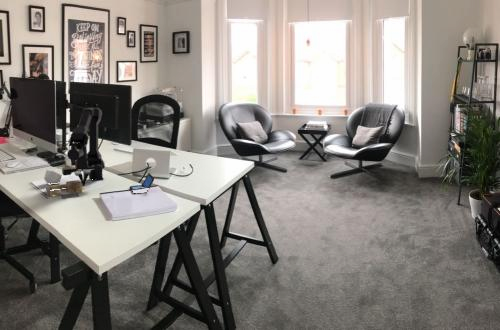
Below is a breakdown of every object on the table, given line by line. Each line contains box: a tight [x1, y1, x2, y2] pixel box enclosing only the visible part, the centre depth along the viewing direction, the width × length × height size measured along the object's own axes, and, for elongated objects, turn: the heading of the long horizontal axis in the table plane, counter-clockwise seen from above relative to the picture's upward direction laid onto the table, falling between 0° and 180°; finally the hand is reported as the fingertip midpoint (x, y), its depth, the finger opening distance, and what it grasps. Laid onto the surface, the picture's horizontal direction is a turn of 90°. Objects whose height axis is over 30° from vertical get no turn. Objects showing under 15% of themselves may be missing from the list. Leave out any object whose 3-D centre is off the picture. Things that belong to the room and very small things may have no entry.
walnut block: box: [65, 179, 82, 194], centre depth 218 cm, size 6×6×4 cm
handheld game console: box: [129, 172, 155, 190], centre depth 221 cm, size 12×11×7 cm
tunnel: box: [45, 183, 83, 198], centre depth 216 cm, size 16×11×3 cm
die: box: [43, 168, 63, 184], centre depth 230 cm, size 8×9×10 cm
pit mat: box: [60, 192, 80, 199], centre depth 210 cm, size 8×6×1 cm
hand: (83, 185), depth 221 cm, fingers closed
